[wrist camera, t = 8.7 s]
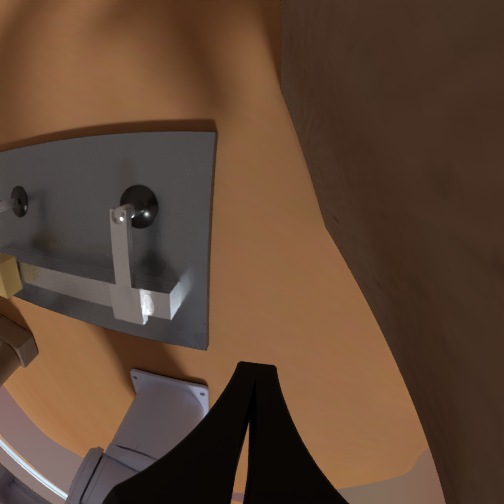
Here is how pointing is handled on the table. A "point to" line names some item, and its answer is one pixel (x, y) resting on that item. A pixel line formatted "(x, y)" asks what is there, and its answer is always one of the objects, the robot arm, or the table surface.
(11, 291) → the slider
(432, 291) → the wooden block
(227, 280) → the table surface
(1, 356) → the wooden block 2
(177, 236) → the hole plate
